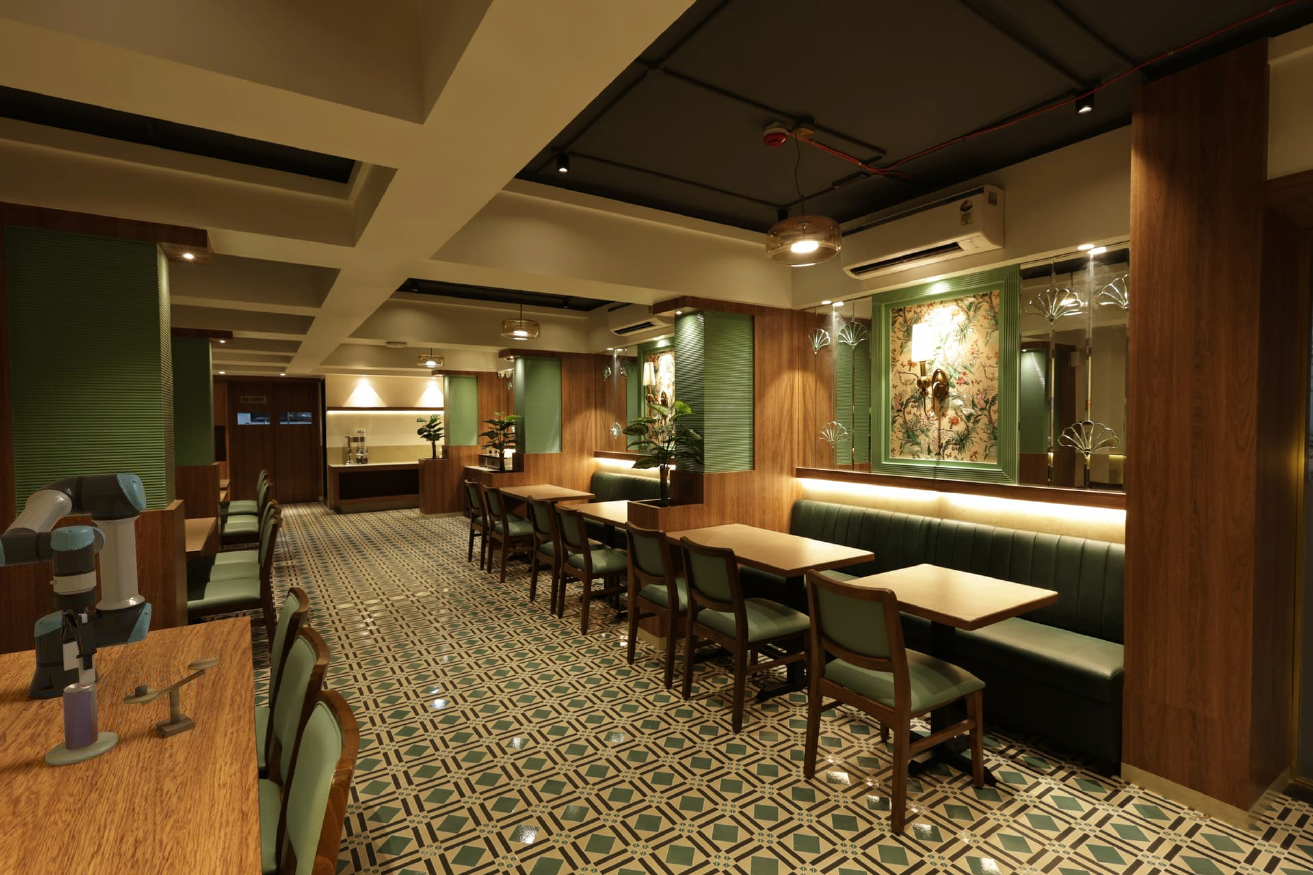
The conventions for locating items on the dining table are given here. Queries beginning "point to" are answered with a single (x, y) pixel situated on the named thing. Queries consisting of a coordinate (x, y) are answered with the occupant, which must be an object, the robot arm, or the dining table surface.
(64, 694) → the beverage can
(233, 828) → the dining table surface
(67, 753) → the dish
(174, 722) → the balance
